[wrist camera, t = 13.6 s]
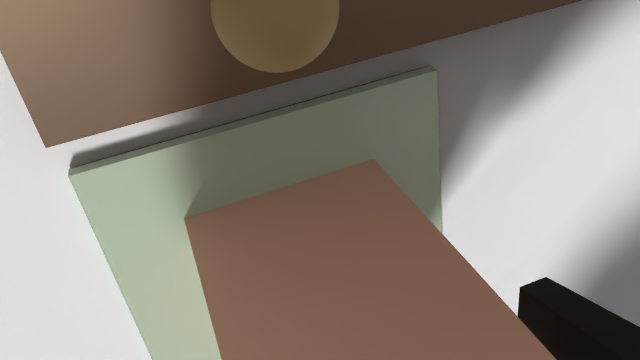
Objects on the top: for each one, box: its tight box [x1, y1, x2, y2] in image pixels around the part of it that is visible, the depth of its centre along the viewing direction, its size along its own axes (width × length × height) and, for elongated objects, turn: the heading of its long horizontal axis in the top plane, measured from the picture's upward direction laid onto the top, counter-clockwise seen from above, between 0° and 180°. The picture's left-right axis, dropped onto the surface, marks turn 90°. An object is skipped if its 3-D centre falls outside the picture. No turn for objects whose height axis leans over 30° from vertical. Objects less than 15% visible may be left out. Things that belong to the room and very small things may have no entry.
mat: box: [68, 66, 442, 360], centre depth 14 cm, size 8×8×1 cm
